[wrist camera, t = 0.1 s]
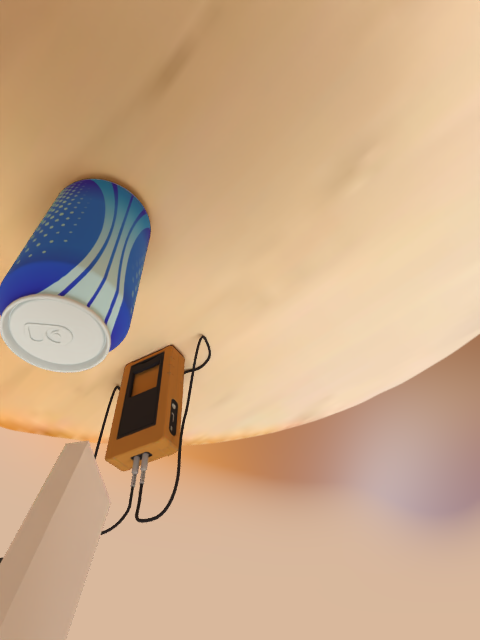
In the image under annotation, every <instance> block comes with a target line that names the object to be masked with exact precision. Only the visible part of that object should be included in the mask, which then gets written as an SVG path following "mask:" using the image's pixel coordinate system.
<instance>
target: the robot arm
mask: <svg viewBox="0 0 480 640" xmlns="http://www.w3.org/2000/svg"><path fill="white" fill-rule="evenodd" d="M110 504H111V501H110V498H109V496H108V493H107V490H106V487H105V484H104V482H103V479H102V476H101V474H100V471H99V468H98V465H97V462H96V460H95V457H94V454H93V451H92V449H91V446H90V443H89V441H83V442H75V443H68V444H65V446H64V448H63V450H62V452H61V453H60V455H59V457H58V459H57V461H56V463H55V464H54V466H53V468H52V470H51V472H50V474H49V476H48V477H47V479H46V481H45V483H44V485H43V486H42V488H41V490H40V492H39V494H38V496H37V498H36V499H35V501H34V503H33V505H32V507H31V509H30V510H29V512H28V514H27V516H26V518H25V519H24V521H23V523H22V525H21V527H20V529H19V530H18V533H17V534H16V536H15V538H14V540H13V541H12V543H11V545H10V547H9V549H8V551H7V552H6V554H5V556H4V558H0V640H66V638H67V635H68V632H69V628H70V626H71V623H72V620H73V617H74V613H75V611H76V608H77V604H78V602H79V598H80V595H81V592H82V589H83V586H84V583H85V580H86V577H87V574H88V571H89V568H90V565H91V562H92V559H93V556H94V553H95V550H96V547H97V544H98V541H99V538H100V535H101V532H102V528H103V526H104V522H105V520H106V516H107V514H108V511H109V508H110Z"/></svg>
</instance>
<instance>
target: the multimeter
mask: <svg viewBox="0 0 480 640" xmlns="http://www.w3.org/2000/svg"><path fill="white" fill-rule="evenodd" d="M202 338H203V339H204V340H205V342H206V344H207V347H208V350H209V356H208V359H207V360H206V362H205V363H204V364H203V365H201V366H200V367H198V368H196V369H195V364H196V359H197V354H198V350H199V346H200V343H201V340H202ZM210 356H211V350H210V346H209V344H208V341H207V339H206V337H204V336H202V337H201V338H200V339H199V342H198V345H197V349H196V353H195V358H194V363H193V368H192V370H188V371H185V372H184V362H185V359H184V358H183V357H182V356H181V354H180V353H179V352H178V351H177V350H176V349H175V348H174V347H173V346H168V347H165V348H164V349H163V350H160V351H158V352H156V353H154V354H151V355H149V356H147V357H145V358H142V359H140V360H138V361H136V362H132V363H130V364H128V365H127V366H126V367H125V369H124V374H123V378H122V383H121V387H119V386H116V387H115V389H114V391H113V393H112V396H111V398H110V401H109V404H108V408H107V411H106V415H105V418H104V422H103V425H102V429H101V432H100V436H99V440H98V443H97V447H96V451H95V455H94V457H95V460H96V456H97V452H98V449H99V445H100V441H101V437H102V434H103V430H104V426H105V423H106V419H107V416H108V412H109V408H110V405H111V402H112V399H113V396H114V393H115V391H116V389H117V388H118V390H119V391H120V392H119V396H118V400H117V405H116V409H115V414H114V419H113V423H112V428H111V433H110V437H109V442H108V446H107V451H106V456H105V460H106V461H107V462H109V463H110V464H112V465H114V466H115V467H117V468H118V469H119V470H121V471H126V470H130V469H131V468H132V474H133V476H132V482H131V493H130V499H129V506H128V508H127V511H126V512H125V514H124V515H123V516H122V518H121V519H120V520H119V521H118V522H117V523H116V524H115V525H113V526H112V527H111V528H109V529H107V530H105V531H102V532H101V535H102V534H105V533H107V532H109V531H111V530H112V529H113V528H115V527H116V526H117V525H118V524H120V523H121V522H122V520H123V519H124V518H125V517H126V515H127V513H128V512H129V510H130V508H131V502H132V496H133V490H134V487H135V481H136V475H137V473H138V469H139V466H140V465H141V472H142V473H141V479H140V490H139V497H138V504H137V509H136V513H135V518H136V520H137V521H138V522H150V521H153V520H156V519H158V518H159V517H161V516H162V515H163V514H164V513H165V512H166V511H167V509H168V508H169V506H170V504H171V502H172V500H173V498H174V495H175V493H176V490H177V486H178V481H179V475H180V459H181V445H182V435H183V429H184V423H185V419H186V415H187V411H188V407H189V401H190V395H191V388H192V382H193V376H194V371H196V370H199V369H201V368H202V367H203V366H205V364H206V363H207V362H208V361H209V359H210ZM188 372H192V374H191V380H190V386H189V392H188V399H187V405H186V409H185V414H184V417H183V421H182V426H181V412H182V397H183V379H184V374H186V373H188ZM180 427H181V432H180ZM177 451H178V467H177V477H176V482H175V486H174V490H173V493H172V496H171V498H170V500H169V502H168V504H167V506H166V507H165V508H164V510H163V511H162V512H161V513H160V514H158V515H157V516H155V517H152V518H148V519H139V518H138V513H139V508H140V503H141V495H142V488H143V484H144V478H145V471H146V470H147V464H148V462H151V461H154V460H157V459H159V458H162V457H165V456H169V455H172V454H174V453H176V452H177Z"/></svg>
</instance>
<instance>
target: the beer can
mask: <svg viewBox="0 0 480 640" xmlns="http://www.w3.org/2000/svg"><path fill="white" fill-rule="evenodd" d="M150 232H151V227H150V221H149V217H148V214H147V212H146V210H145V208H144V206H143V205H142V204H141V202H140V201H139V200H138V199H137V198H136V197H135V196H134V195H133V194H132V193H131V192H130V191H128V190H127V189H125V188H124V187H122V186H120V185H118V184H116V183H113V182H110V181H107V180H102V179H84V180H80V181H77V182H74V183H72V184H70V185H69V186H67V187H66V188H65V189H63V190H62V191H61V193H60V194H59V195H58V197H57V198H56V200H55V201H54V203H53V204H52V206H51V207H50V209H49V210H48V212H47V214H46V215H45V217H44V218H43V220H42V221H41V223H40V224H39V226H38V227H37V229H36V230H35V232H34V233H33V235H32V236H31V238H30V240H29V241H28V243H27V244H26V246H25V247H24V249H23V250H22V252H21V253H20V255H19V256H18V258H17V259H16V261H15V262H14V264H13V266H12V267H11V269H10V270H9V272H8V273H7V275H6V276H5V278H4V279H3V281H2V283H1V285H0V315H1V318H0V333H1V336H2V338H3V340H4V342H5V343H6V345H7V346H8V347H9V349H10V350H11V351H12V352H14V353H15V354H16V355H17V356H18V357H20V358H21V359H23V360H24V361H26V362H28V363H30V364H32V365H34V366H37V367H39V368H42V369H46V370H50V371H55V372H79V371H84V370H87V369H90V368H93V367H94V366H96V365H98V364H99V363H100V362H102V361H103V360H104V359H105V357H106V356H107V354H108V352H110V351H111V350H113V349H114V348H116V347H117V346H118V345H119V344H120V343H121V342H122V341H123V339H124V338H125V337H126V335H127V333H128V330H129V327H130V323H131V319H132V314H133V310H134V305H135V301H136V296H137V292H138V287H139V283H140V279H141V274H142V270H143V265H144V261H145V256H146V252H147V247H148V243H149V238H150Z"/></svg>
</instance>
